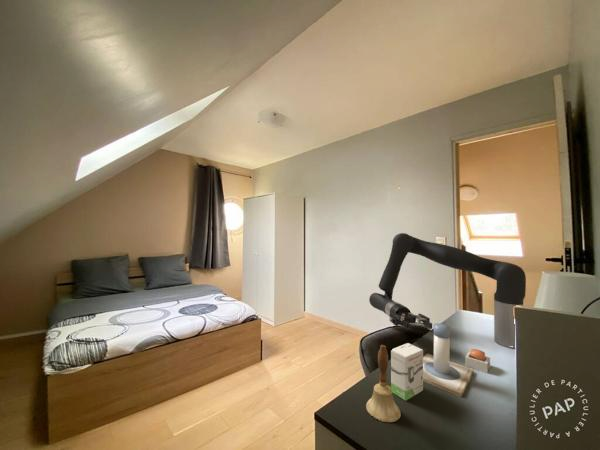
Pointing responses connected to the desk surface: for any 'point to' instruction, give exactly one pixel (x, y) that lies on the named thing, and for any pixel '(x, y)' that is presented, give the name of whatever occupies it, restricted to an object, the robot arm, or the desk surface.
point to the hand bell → (383, 394)
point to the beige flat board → (447, 376)
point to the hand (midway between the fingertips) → (420, 326)
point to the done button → (477, 354)
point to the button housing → (477, 363)
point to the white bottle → (441, 348)
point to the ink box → (406, 371)
